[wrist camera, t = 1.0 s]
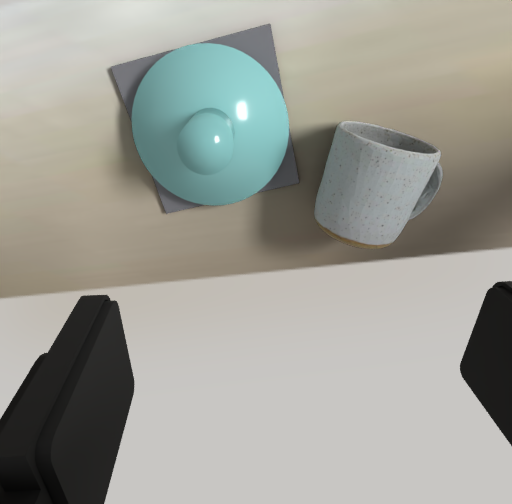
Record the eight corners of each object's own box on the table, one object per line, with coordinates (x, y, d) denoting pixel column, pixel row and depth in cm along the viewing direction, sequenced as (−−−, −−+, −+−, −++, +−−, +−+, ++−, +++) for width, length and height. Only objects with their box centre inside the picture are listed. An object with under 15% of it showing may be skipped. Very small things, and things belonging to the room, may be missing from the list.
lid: (270, 23, 26) (276, 18, 21) (299, 182, 32) (310, 211, 27) (110, 66, 27) (77, 71, 22) (166, 213, 33) (150, 246, 28)
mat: (269, 23, 27) (270, 23, 26) (298, 181, 32) (299, 183, 32) (112, 66, 28) (110, 66, 27) (167, 211, 33) (166, 213, 33)
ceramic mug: (303, 208, 34) (319, 249, 27) (328, 114, 30) (354, 135, 23) (412, 226, 35) (453, 269, 28) (449, 138, 31) (507, 164, 24)
